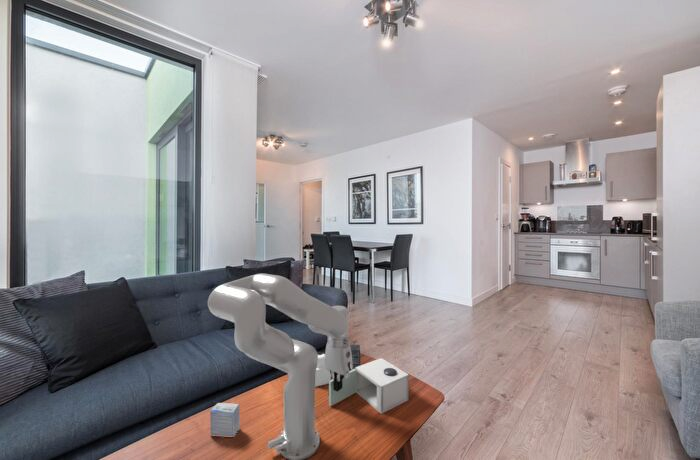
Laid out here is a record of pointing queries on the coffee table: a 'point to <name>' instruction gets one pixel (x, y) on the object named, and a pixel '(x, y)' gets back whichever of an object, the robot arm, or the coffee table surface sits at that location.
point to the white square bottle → (321, 371)
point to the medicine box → (225, 419)
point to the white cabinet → (382, 384)
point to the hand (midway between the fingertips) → (338, 389)
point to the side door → (346, 390)
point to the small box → (355, 355)
